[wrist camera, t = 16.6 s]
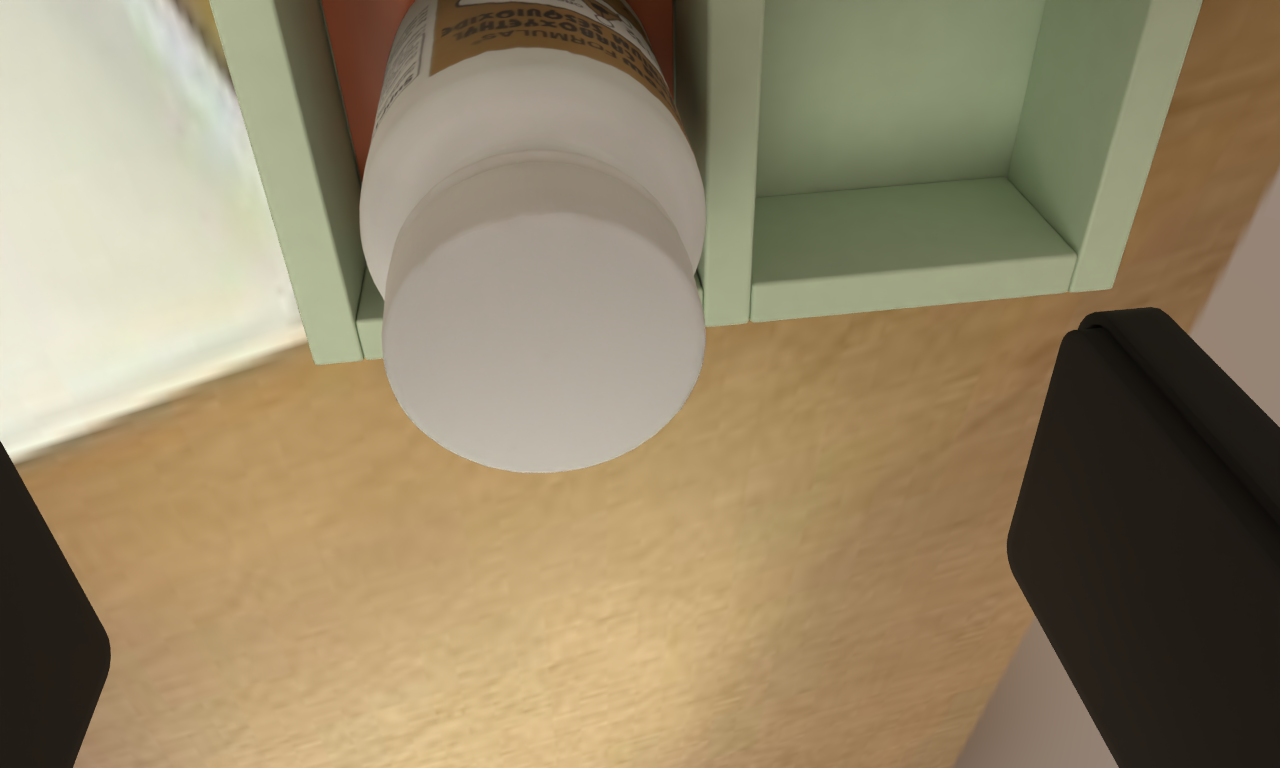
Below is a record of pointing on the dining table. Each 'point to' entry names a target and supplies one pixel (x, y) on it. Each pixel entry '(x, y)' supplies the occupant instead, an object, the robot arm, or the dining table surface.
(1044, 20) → the grid
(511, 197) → the pill bottle
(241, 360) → the dining table surface
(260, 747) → the dining table surface
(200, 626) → the dining table surface
